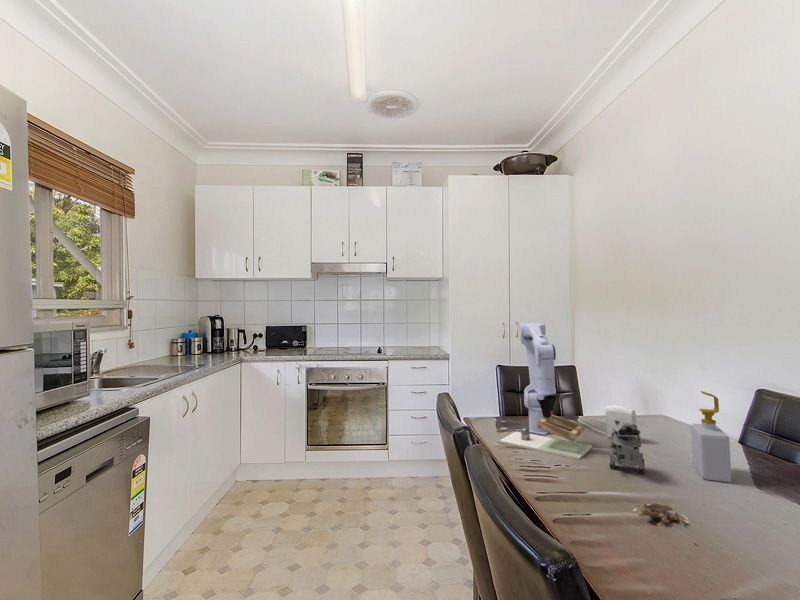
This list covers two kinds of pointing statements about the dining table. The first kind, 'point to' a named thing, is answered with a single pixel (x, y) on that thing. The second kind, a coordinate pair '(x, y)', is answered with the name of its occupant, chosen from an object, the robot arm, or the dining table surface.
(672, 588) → the dining table surface
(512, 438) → the board
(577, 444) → the mat
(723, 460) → the soap bottle
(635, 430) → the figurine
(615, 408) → the photo printer
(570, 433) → the wooden square frame
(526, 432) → the peg
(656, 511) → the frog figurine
